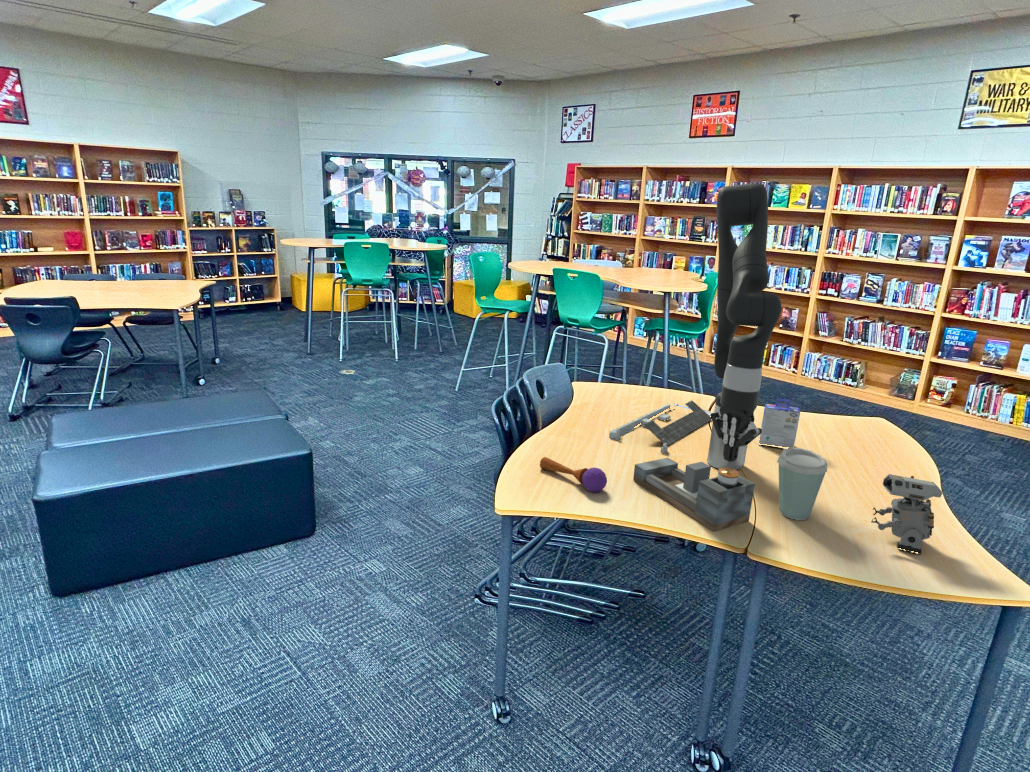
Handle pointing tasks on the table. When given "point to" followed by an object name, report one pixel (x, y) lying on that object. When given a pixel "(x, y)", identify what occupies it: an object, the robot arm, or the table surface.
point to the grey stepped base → (713, 499)
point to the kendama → (579, 474)
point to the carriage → (694, 478)
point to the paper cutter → (669, 431)
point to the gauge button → (728, 477)
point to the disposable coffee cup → (799, 481)
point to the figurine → (909, 510)
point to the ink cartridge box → (779, 424)
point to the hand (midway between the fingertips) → (729, 460)
